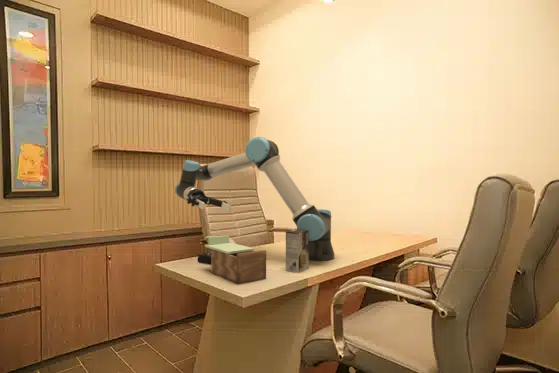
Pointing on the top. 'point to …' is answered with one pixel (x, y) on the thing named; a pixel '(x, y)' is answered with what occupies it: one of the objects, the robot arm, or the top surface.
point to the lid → (226, 245)
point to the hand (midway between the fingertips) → (217, 207)
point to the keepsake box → (239, 266)
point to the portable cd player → (205, 258)
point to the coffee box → (296, 250)
